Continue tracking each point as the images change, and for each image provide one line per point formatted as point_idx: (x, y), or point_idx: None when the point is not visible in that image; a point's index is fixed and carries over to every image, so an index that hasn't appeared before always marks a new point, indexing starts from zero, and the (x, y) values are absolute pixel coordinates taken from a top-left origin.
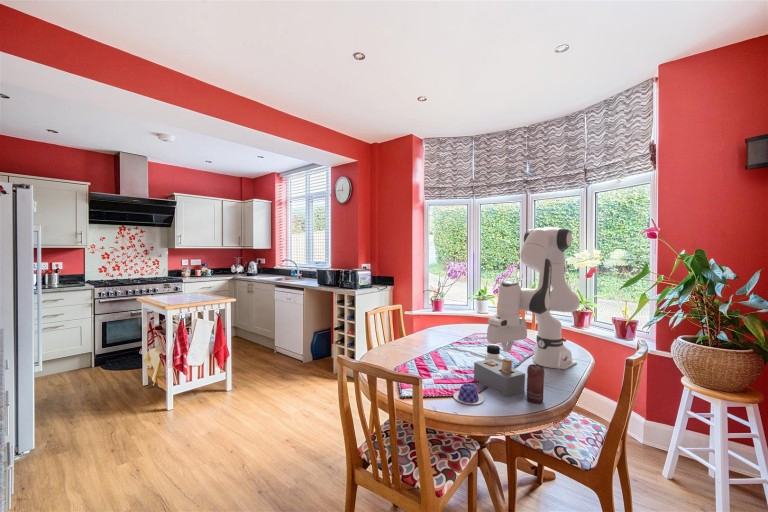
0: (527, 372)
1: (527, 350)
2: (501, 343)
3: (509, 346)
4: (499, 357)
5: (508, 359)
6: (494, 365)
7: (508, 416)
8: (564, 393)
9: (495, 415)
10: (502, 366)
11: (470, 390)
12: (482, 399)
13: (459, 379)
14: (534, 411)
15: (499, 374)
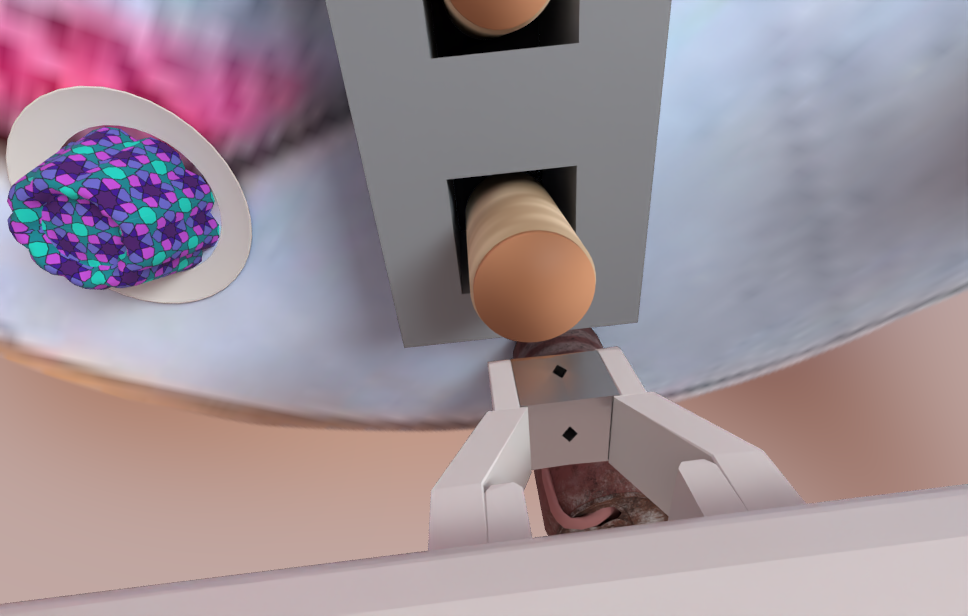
0: (542, 473)
1: None
2: (436, 489)
3: (619, 453)
4: None
5: (572, 280)
6: (505, 29)
7: (306, 421)
8: (786, 335)
9: (243, 401)
10: (469, 247)
11: (83, 287)
12: (235, 263)
13: None
14: (463, 419)
15: (392, 273)
